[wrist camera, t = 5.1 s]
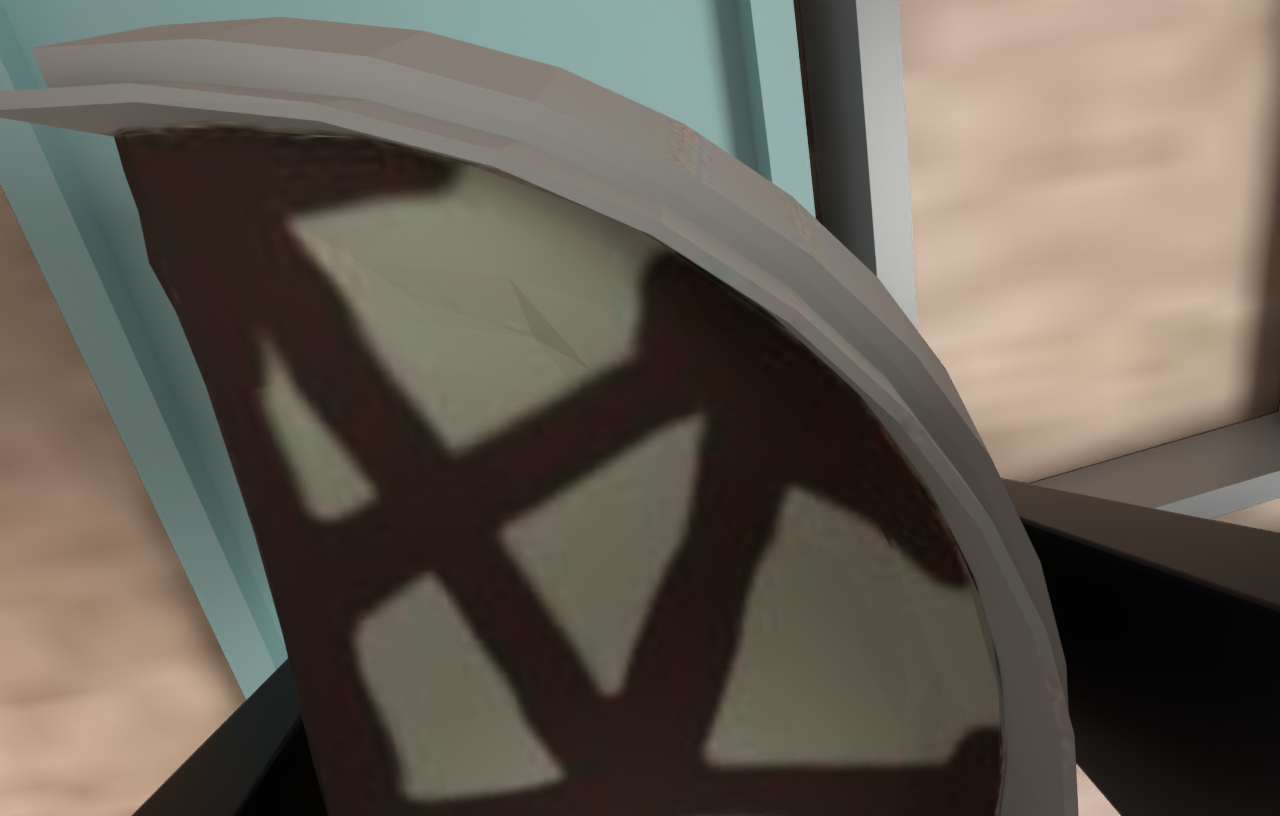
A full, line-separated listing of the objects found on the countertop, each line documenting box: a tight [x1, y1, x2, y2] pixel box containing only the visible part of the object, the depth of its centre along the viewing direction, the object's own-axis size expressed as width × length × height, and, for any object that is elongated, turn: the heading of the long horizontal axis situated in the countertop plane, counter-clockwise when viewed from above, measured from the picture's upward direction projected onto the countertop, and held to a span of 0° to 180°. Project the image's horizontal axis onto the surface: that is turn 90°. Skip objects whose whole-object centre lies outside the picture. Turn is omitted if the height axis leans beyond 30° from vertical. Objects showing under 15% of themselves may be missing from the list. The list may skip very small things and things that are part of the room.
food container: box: [0, 17, 1078, 816], centre depth 10 cm, size 12×6×10 cm, turn 8°
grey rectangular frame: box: [799, 0, 1280, 519], centre depth 21 cm, size 22×17×3 cm
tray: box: [0, 0, 816, 700], centre depth 20 cm, size 22×17×2 cm
